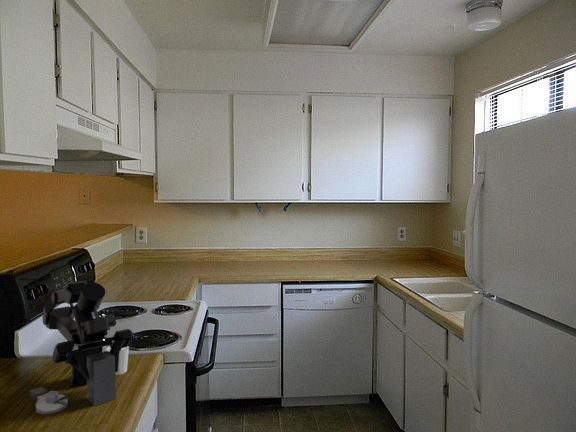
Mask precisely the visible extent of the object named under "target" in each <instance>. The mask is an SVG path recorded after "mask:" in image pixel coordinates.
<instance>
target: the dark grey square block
mask: <svg viewBox="0 0 576 432" xmlns="http://www.w3.org/2000/svg"><path fill="white" fill-rule="evenodd" d="M87 369H88V372H89V380H87V384H86V393H87V396H86V397H87V400H88V401H89V402H90V403H91V404H92V405H93V406H94V407H96V406H98V405H101V404H105V403H108V402H112V401H114V399H115V400H116V398H117V395H116V375H115V356H113V355H112V354H111V353H109V352H108V351H105V352H104V351H102V352H101V353H97V354H93V355H88V356H87ZM111 400H112V401H111Z"/></svg>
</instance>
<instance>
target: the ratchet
mask: <svg viewBox="0 0 576 432" xmlns="http://www.w3.org/2000/svg"><path fill="white" fill-rule="evenodd" d="M29 397H30V398H31V399H32V400H34V401H35V402H36V403H35V413H37V414H38V415H52V414H56V413H58V412H61V411H63V410H66V408H67V407H68V406H69V405H68V404H69V402H68V400H69V399H68V396H67V395H65V394H59V391H58V390H49V391H48V390H47V389H45V388H44V387H42V386H40V387H37V388H34V389H30V390H29Z"/></svg>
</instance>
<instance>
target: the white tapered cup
mask: <svg viewBox="0 0 576 432" xmlns="http://www.w3.org/2000/svg"><path fill="white" fill-rule="evenodd" d="M110 349H111V348H110V345H108V346H105V348H104V349H103V352H105V351H108V352H109V351H110ZM129 350H130V347H129V346H127V347H125V348H122V349H121V351H120V352H119V363H118V371H117V372H115V376H120V375H122V374H125V373H127V371H128V365H129V364H128V363H129V353H130V352H129Z"/></svg>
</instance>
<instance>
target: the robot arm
mask: <svg viewBox="0 0 576 432" xmlns="http://www.w3.org/2000/svg"><path fill="white" fill-rule="evenodd" d="M105 295H106V288H105V287H104V286H103V285H102V284H100V283H98V282H95V279H87V280H82V281H74V282H73V281H72V282H67V283H65V285H64V286H63V289H60V290H54V291H53V292H51V296H50V297H51V298H50V299H49V300H48V302H46V303H45V305H43V311H42V324H43V325H44V326H45V327H46V328H47V329H48V330H57V331H58V332H59V333H60V334H61V335H62V336H63V338H64V339H65V341H63V342H58V343H57V342H56V343H57V344H56V345H55V346H54V350H53V351H52V359H53V363H54V364H60V363H65V364H66V365H70V366H71V375H70V376H69V381H70V387H77V386H82V385H87V380H89V372H88V369H87V356H88V355H93V354H97V353H101V352H103V351H104V349H103V348H104V347H108V346H110V348H111V349H110V351H109V353H111V354H112V355H113V356H115V372H117V371H118V363H119V352H120V351H121V349H122V348H125V347H127V346H129V345H130V344H131V342H132V341H133V338H134V334H133V330H132V329H130V328H125V329H122V330H120V329H119V330H116V331H115V333H114V335H113V336H110V337H106V336H107V335H108V331H110V330H111V328H113V327H115V326H116V325H117V320H116V316H115V313H110V314H106V315H105V316H104V317H103V318H101V317H99V313H98V310H99V309H100V308H101V305H102V303H103V300H104V297H105ZM60 304H68V306H62V307H57V308H55V307H56V306H57V305H60ZM74 304H75V305H74Z"/></svg>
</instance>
